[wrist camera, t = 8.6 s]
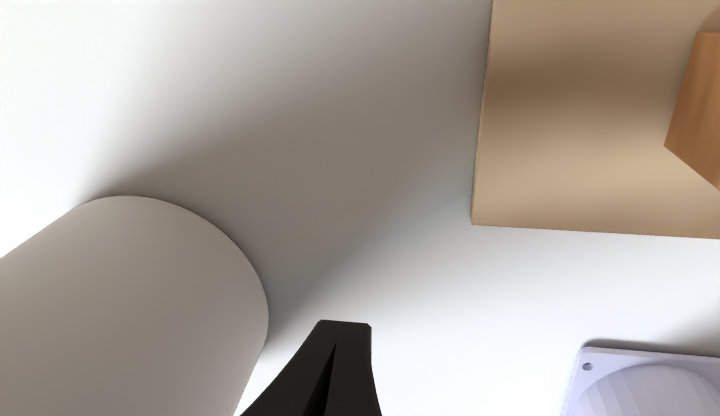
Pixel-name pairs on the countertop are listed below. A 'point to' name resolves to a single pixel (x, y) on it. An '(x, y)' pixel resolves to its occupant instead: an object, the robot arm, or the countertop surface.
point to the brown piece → (699, 110)
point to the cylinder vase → (128, 315)
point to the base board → (589, 118)
